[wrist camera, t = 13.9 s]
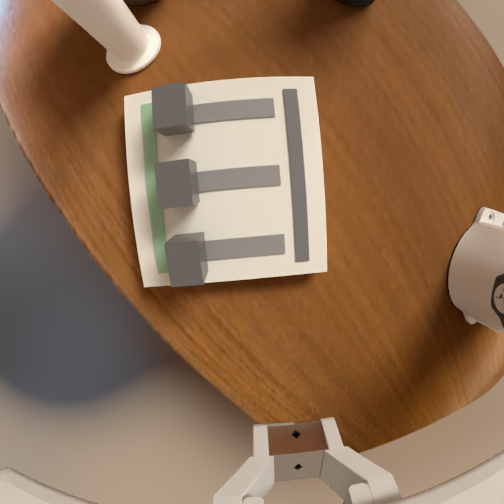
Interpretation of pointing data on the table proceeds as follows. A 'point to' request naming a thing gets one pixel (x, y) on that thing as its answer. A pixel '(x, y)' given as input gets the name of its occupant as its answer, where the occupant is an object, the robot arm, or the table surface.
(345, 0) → the wine bottle
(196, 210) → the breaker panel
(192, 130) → the handle
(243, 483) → the robot arm
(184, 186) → the handle
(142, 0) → the plant pot
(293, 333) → the table surface
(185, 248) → the handle
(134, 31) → the candle
